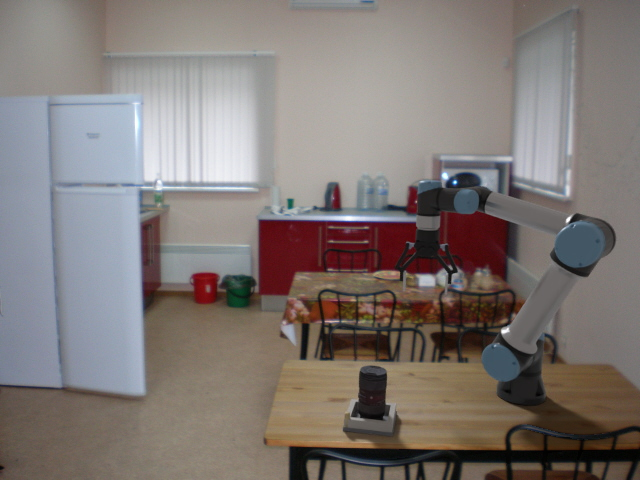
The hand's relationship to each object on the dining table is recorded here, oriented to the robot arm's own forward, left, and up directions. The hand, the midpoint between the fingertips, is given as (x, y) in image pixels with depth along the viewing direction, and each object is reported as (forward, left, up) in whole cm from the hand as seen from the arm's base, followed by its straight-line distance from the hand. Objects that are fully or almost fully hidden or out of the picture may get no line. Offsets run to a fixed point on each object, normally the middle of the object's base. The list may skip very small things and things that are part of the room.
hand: (424, 292), depth 197 cm
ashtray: (+13, +32, -32) cm, 47 cm away
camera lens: (+13, +32, -31) cm, 46 cm away
